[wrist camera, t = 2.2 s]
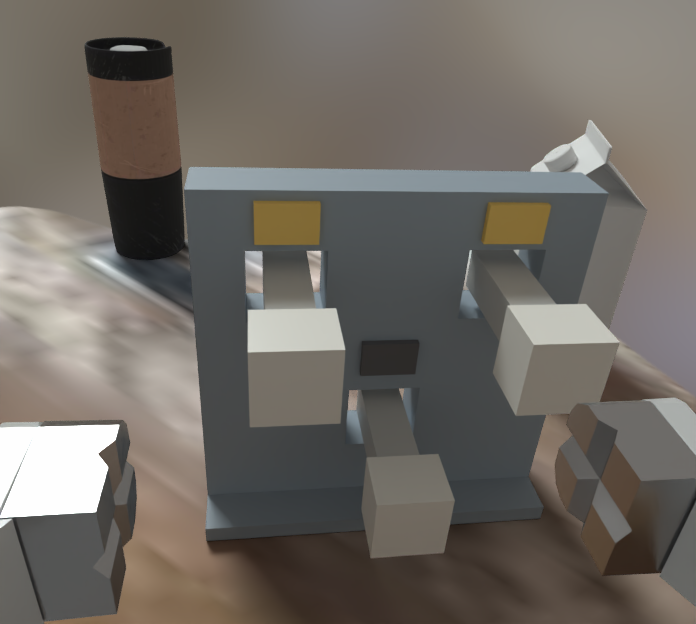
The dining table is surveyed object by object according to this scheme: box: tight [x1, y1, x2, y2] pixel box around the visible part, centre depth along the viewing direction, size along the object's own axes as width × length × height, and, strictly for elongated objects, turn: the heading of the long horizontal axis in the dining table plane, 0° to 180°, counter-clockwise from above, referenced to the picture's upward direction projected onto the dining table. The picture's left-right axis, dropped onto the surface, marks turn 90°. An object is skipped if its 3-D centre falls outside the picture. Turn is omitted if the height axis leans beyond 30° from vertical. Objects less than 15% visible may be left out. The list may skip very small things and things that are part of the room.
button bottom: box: [356, 388, 455, 558], centre depth 34 cm, size 4×10×4 cm, turn 8°
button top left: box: [248, 251, 345, 427], centre depth 29 cm, size 4×10×4 cm, turn 8°
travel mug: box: [85, 37, 184, 259], centre depth 63 cm, size 8×8×20 cm
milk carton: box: [514, 120, 647, 330], centre depth 49 cm, size 7×7×19 cm
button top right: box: [466, 250, 620, 416], centre depth 30 cm, size 4×10×4 cm, turn 8°
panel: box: [184, 167, 609, 541], centre depth 36 cm, size 20×8×20 cm, turn 98°
